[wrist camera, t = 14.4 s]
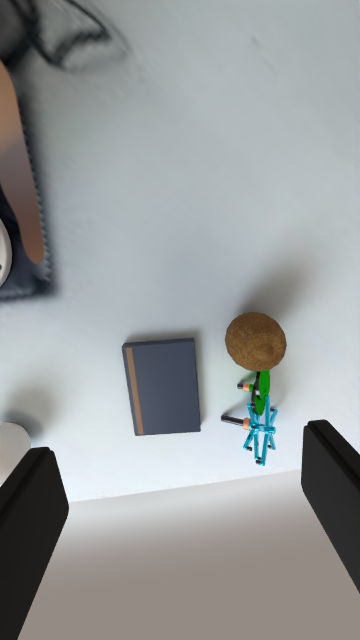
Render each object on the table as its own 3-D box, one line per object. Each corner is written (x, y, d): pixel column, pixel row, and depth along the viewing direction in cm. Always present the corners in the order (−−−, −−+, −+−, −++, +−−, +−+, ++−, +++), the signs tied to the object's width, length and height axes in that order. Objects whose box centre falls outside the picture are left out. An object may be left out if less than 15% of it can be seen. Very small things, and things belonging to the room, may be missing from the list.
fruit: (209, 332, 30) (219, 357, 22) (245, 295, 29) (268, 308, 21) (244, 362, 31) (265, 397, 23) (280, 328, 30) (314, 352, 22)
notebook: (123, 343, 30) (121, 346, 29) (193, 338, 30) (194, 341, 29) (136, 430, 34) (134, 436, 32) (200, 425, 33) (200, 432, 32)
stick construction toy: (283, 451, 31) (266, 482, 25) (234, 437, 36) (208, 461, 29) (281, 360, 32) (263, 368, 26) (232, 357, 36) (207, 363, 30)
